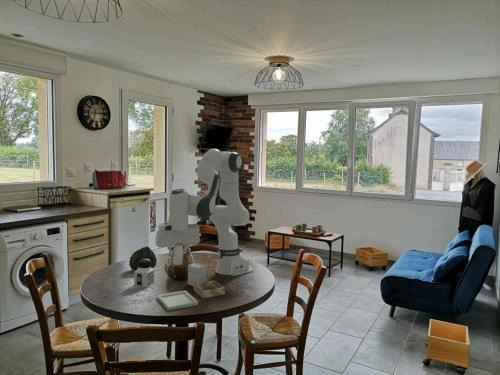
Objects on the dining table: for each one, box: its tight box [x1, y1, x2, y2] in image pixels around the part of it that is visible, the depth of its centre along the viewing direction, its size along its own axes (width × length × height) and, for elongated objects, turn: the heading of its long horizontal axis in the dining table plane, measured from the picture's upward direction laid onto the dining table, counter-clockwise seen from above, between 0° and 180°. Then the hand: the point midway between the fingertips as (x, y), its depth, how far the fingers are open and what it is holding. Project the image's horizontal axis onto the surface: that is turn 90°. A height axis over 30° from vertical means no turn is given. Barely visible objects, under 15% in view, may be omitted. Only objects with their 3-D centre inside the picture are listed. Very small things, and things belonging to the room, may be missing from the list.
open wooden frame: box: [193, 280, 226, 299], centre depth 183 cm, size 12×12×4 cm
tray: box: [156, 290, 199, 312], centre depth 170 cm, size 14×16×2 cm
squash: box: [128, 246, 158, 271], centre depth 215 cm, size 14×15×15 cm
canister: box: [172, 243, 184, 266], centre depth 169 cm, size 5×5×10 cm
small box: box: [187, 262, 207, 287], centre depth 193 cm, size 8×6×10 cm
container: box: [133, 259, 155, 288], centre depth 192 cm, size 8×8×13 cm
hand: (178, 254), depth 169 cm, fingers closed on canister, 4 cm apart
